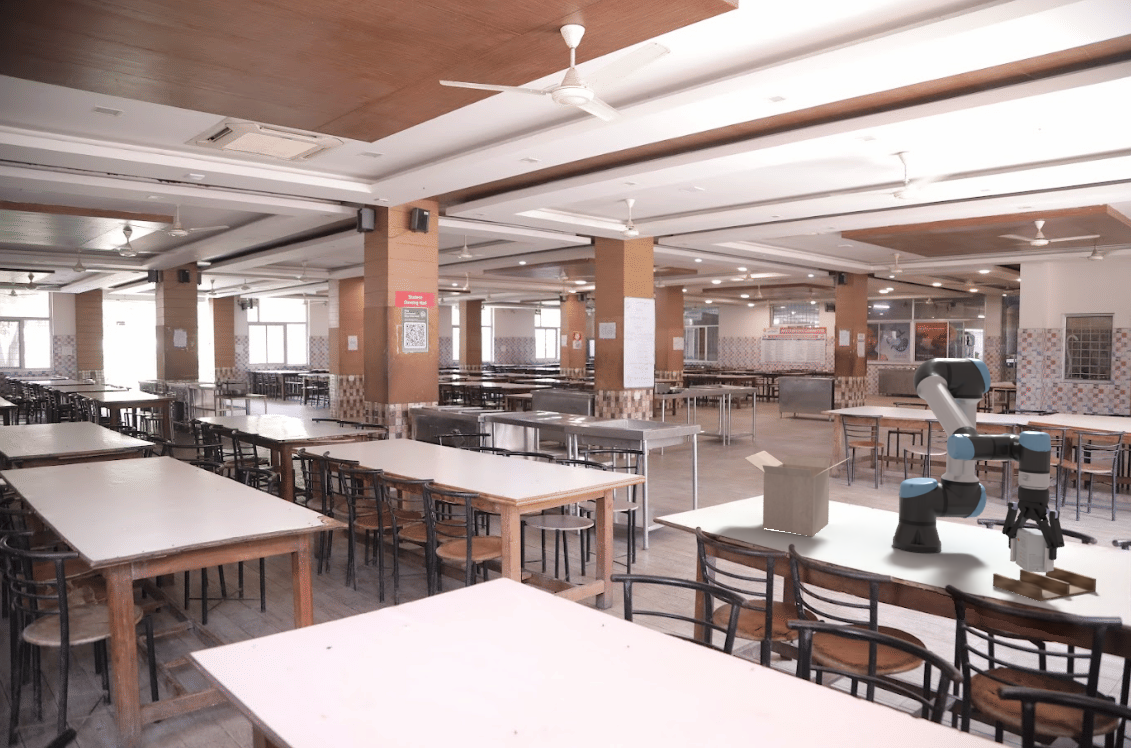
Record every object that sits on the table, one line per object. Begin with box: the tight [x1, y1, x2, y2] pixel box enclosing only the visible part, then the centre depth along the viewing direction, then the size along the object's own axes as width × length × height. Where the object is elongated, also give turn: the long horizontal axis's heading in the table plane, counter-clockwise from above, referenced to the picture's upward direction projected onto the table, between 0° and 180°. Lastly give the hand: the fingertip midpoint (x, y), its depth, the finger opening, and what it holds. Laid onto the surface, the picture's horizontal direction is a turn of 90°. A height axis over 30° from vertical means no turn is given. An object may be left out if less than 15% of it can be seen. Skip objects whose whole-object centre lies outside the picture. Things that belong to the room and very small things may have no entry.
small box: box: [1015, 527, 1048, 574], centre depth 213 cm, size 8×6×10 cm
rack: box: [992, 566, 1097, 602], centre depth 216 cm, size 14×23×4 cm, turn 112°
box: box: [743, 450, 851, 538], centre depth 286 cm, size 33×31×26 cm
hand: (1031, 565), depth 213 cm, fingers closed on small box, 9 cm apart
